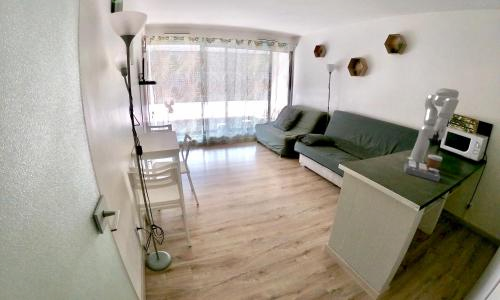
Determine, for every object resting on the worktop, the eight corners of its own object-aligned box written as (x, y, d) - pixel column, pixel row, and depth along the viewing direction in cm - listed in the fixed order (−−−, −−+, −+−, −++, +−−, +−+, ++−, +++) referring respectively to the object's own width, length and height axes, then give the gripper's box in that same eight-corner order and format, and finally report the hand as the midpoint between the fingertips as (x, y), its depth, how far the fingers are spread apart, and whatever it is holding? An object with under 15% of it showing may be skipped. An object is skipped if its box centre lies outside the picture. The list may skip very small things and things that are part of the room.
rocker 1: (408, 161, 179) (409, 160, 178) (414, 163, 177) (415, 161, 177) (408, 167, 172) (409, 165, 172) (415, 168, 171) (416, 167, 170)
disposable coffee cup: (431, 172, 180) (437, 158, 175) (419, 167, 188) (425, 153, 184) (439, 172, 182) (446, 158, 178) (428, 167, 191) (434, 154, 187)
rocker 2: (418, 163, 176) (419, 162, 176) (425, 165, 174) (426, 164, 174) (419, 169, 170) (420, 168, 169) (426, 171, 168) (427, 170, 167)
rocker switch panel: (402, 165, 188) (404, 160, 186) (433, 173, 179) (435, 168, 177) (404, 172, 172) (406, 167, 171) (438, 181, 164) (440, 176, 162)
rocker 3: (428, 169, 174) (429, 167, 174) (435, 170, 172) (435, 169, 172) (431, 170, 166) (432, 168, 166) (438, 172, 164) (439, 170, 164)
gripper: (436, 113, 171) (427, 136, 178) (440, 116, 159) (430, 141, 166) (449, 115, 168) (438, 138, 175) (454, 118, 156) (442, 143, 163)
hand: (434, 139), depth 170 cm, fingers closed
